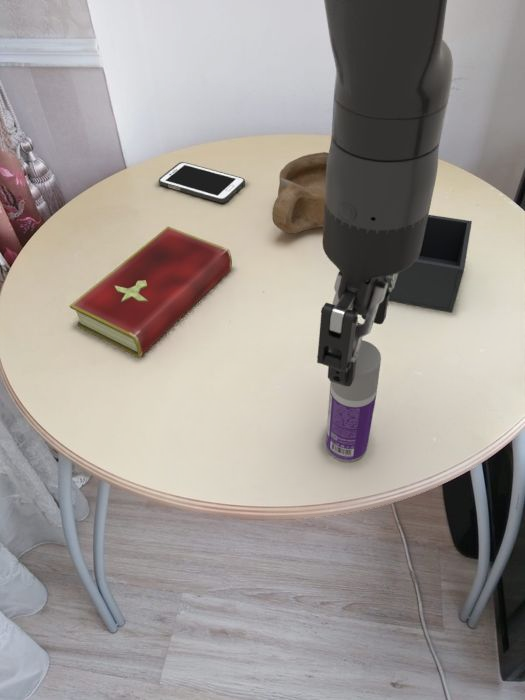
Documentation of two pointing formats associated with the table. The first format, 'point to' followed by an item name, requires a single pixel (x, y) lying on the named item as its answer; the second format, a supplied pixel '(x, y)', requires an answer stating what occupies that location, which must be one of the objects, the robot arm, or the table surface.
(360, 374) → the container
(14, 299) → the table surface
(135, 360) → the table surface
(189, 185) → the cell phone
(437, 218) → the bin
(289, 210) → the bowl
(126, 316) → the hardcover book
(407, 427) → the table surface
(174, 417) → the table surface
